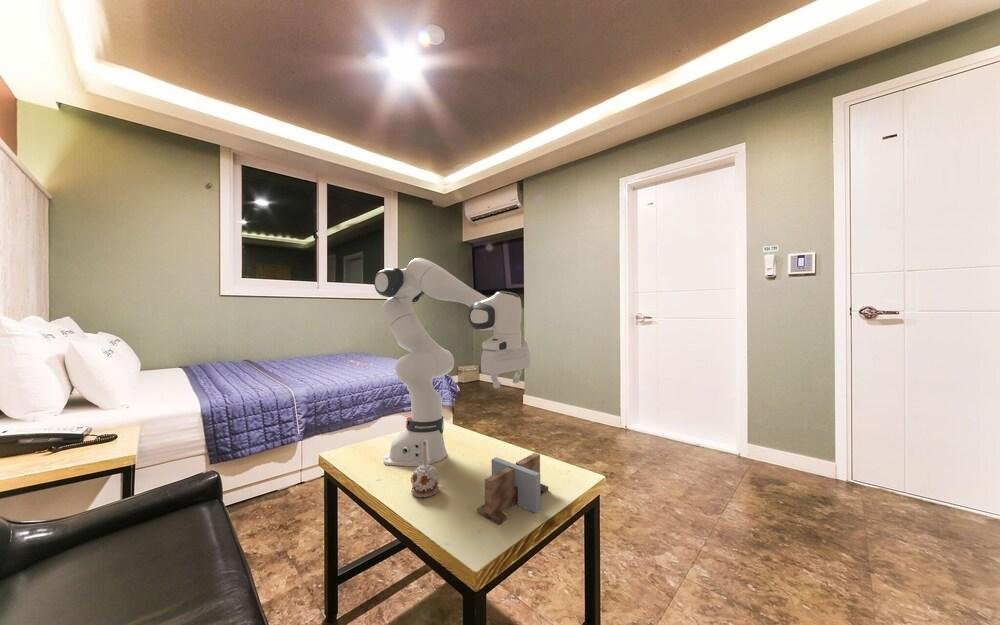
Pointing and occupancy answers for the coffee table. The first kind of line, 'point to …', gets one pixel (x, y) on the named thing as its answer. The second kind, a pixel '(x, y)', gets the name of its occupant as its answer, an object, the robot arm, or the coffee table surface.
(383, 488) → the coffee table surface
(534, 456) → the walnut crosspiece
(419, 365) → the robot arm
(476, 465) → the coffee table surface
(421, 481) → the decorative ornament
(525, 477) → the grey plate
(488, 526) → the coffee table surface
